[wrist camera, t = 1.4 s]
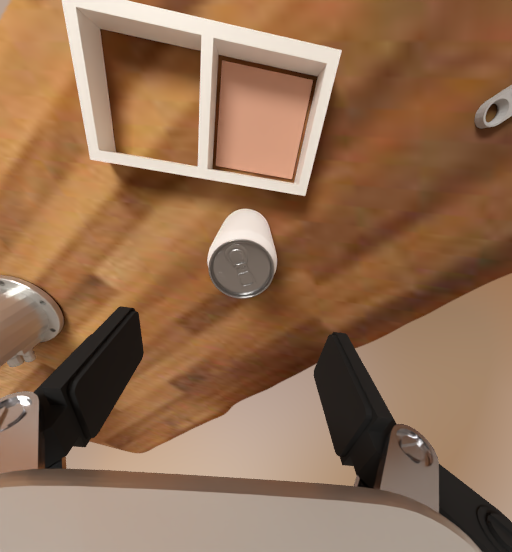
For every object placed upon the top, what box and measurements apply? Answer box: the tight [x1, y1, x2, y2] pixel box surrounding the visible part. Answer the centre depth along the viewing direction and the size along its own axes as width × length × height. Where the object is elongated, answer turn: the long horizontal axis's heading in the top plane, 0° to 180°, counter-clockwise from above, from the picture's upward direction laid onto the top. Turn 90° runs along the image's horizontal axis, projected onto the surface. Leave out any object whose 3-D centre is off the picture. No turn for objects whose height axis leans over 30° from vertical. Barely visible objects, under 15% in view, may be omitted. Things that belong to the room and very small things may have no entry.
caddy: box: [62, 0, 342, 196], centre depth 21 cm, size 12×23×3 cm, turn 81°
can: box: [208, 209, 277, 298], centre depth 23 cm, size 6×6×12 cm
